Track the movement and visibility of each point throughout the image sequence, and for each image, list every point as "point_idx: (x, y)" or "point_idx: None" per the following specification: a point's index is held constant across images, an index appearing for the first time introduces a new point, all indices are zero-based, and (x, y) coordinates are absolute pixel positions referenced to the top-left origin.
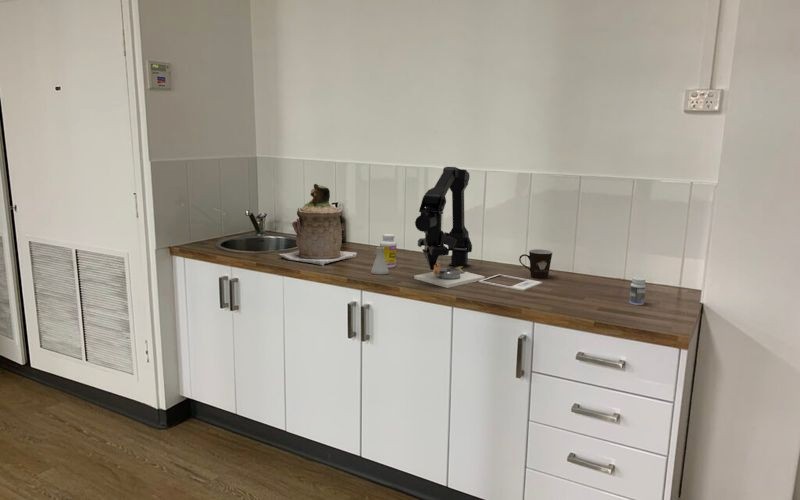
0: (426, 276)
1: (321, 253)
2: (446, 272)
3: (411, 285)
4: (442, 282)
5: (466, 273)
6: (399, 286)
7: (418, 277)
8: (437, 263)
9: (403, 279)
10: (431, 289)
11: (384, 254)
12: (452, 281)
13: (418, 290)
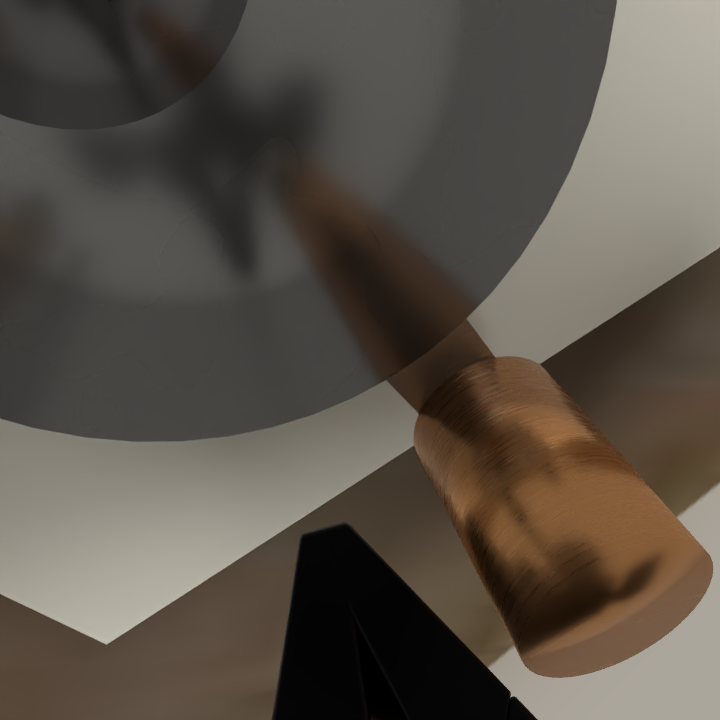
0: (158, 494)
1: None
2: (497, 198)
3: (469, 582)
4: (642, 260)
5: None
6: (480, 658)
7: (187, 581)
8: (545, 615)
9: (161, 683)
10: (708, 393)
11: None
12: (652, 29)
13: (681, 510)
